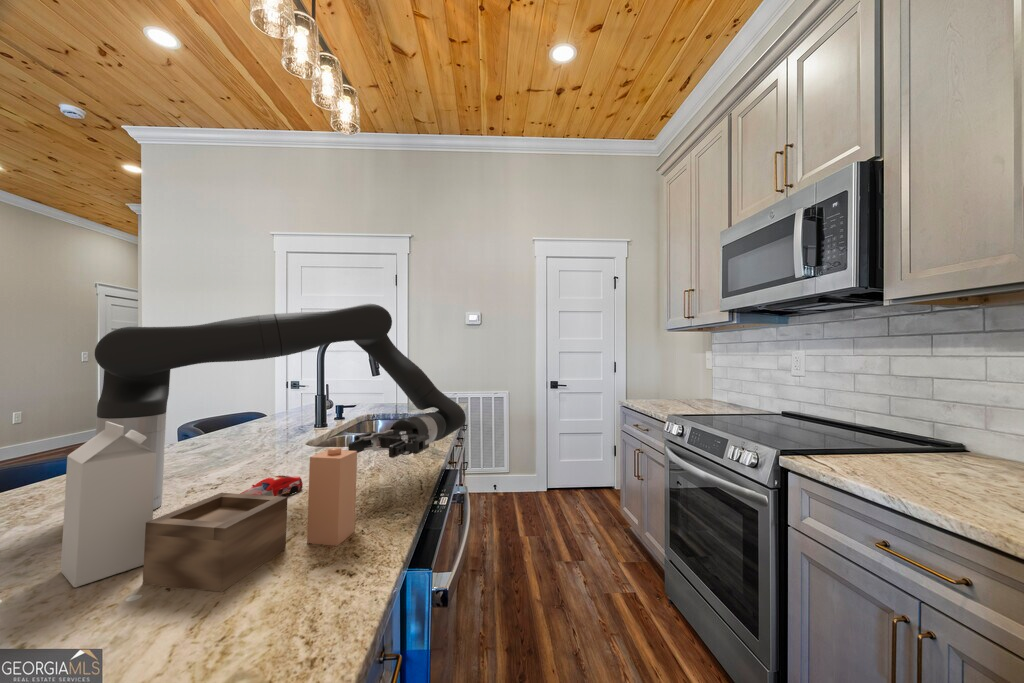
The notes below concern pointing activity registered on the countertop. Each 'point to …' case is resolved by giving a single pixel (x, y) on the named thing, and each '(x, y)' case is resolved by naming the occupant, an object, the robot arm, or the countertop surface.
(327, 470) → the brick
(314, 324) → the robot arm
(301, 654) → the countertop surface
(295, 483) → the race car
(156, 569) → the wooden box
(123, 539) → the milk carton
